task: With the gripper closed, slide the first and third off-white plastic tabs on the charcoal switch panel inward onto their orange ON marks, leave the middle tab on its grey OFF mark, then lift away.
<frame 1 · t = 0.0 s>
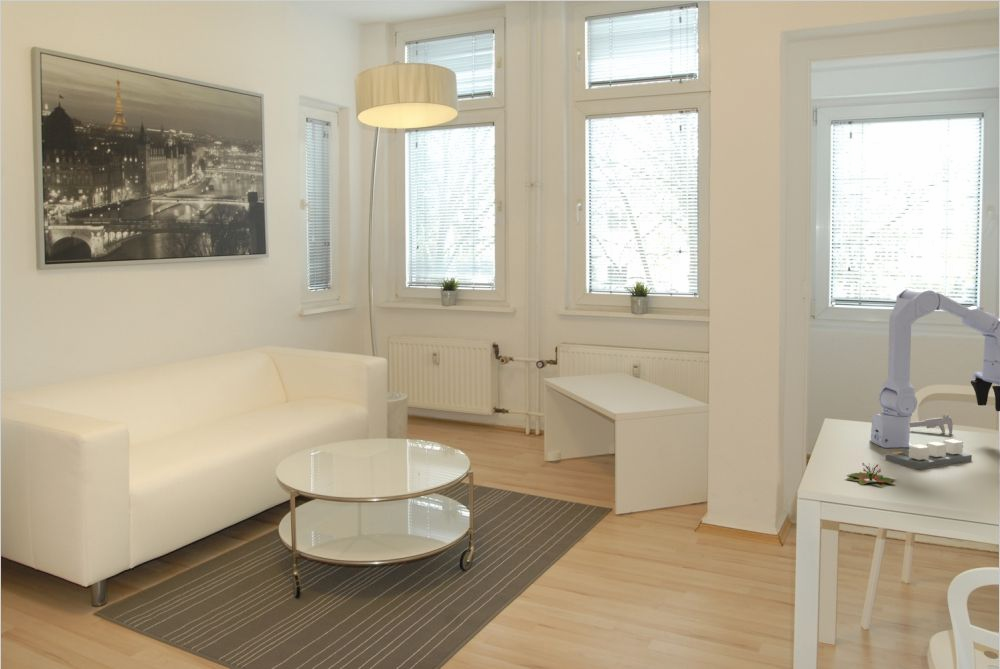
hand: (990, 408, 236), 10 cm above the table, fingers open, 7 cm apart
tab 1: (919, 451, 214), point 3 cm above the table, slide at 0.0 cm
tab 2: (936, 449, 217), point 3 cm above the table, slide at 0.0 cm
switch panel: (928, 460, 219), on the table
caliper: (913, 432, 251), on the table
lily flower: (870, 483, 201), on the table
tab 3: (952, 446, 220), point 3 cm above the table, slide at 0.0 cm
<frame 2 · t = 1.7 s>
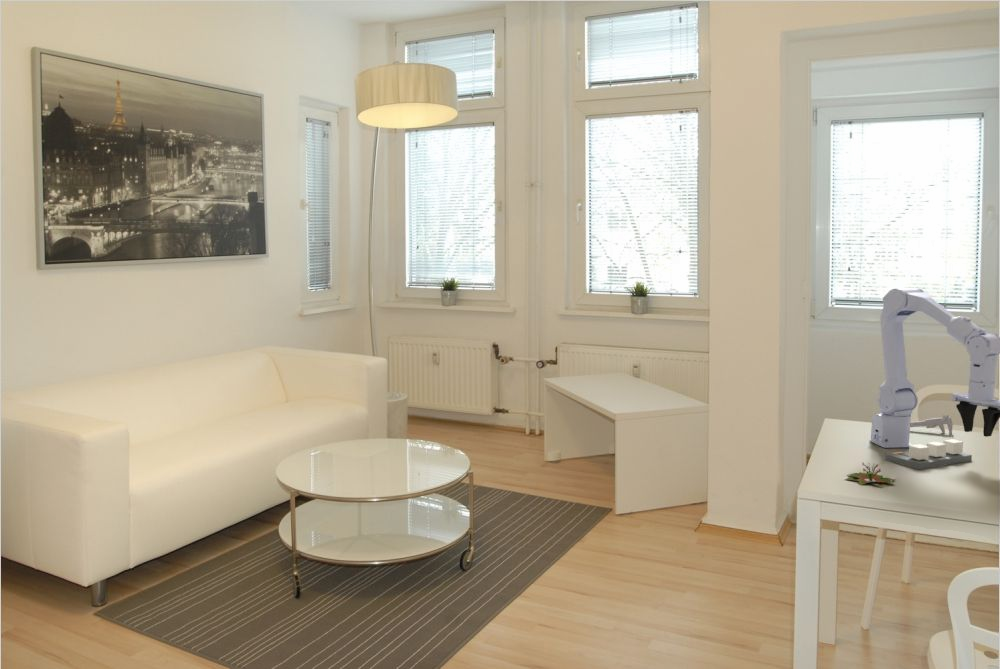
hand: (977, 433, 213), 8 cm above the table, fingers open, 5 cm apart
nothing on the table moved.
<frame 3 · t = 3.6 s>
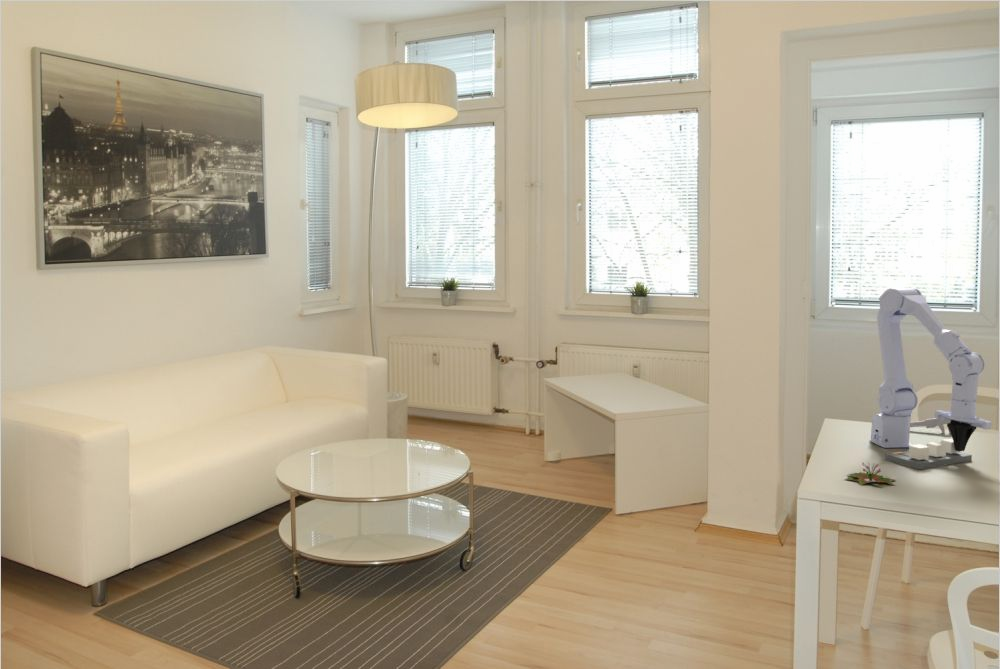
hand: (959, 450, 218), 3 cm above the table, fingers closed
tab 3: (950, 446, 220), point 3 cm above the table, slide at 0.7 cm, touching gripper
everything else where it was.
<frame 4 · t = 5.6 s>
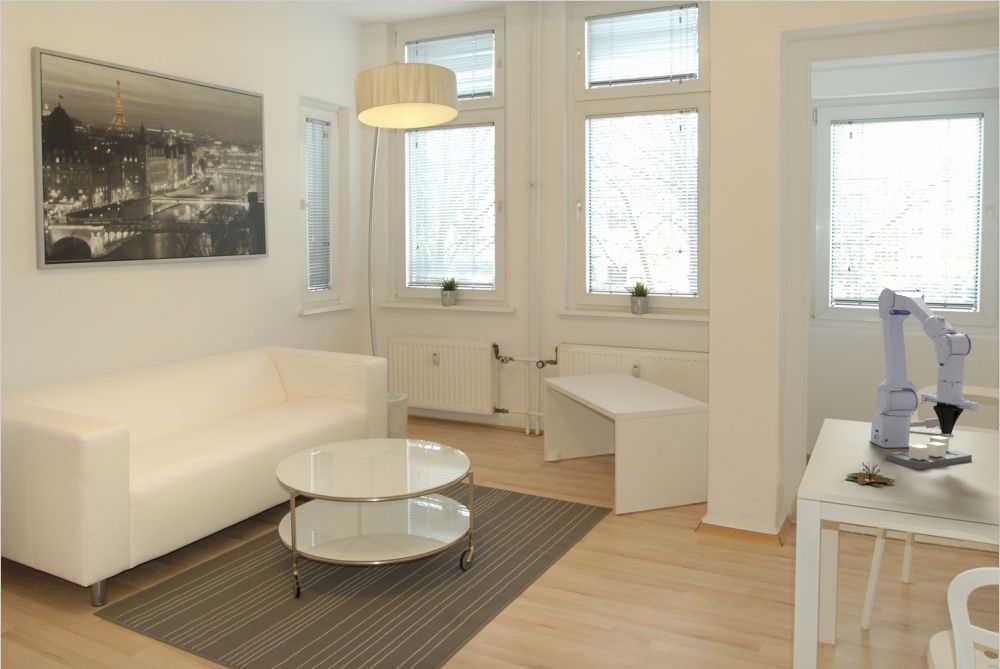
hand: (946, 433, 212), 9 cm above the table, fingers closed
tab 3: (939, 443, 223), point 3 cm above the table, slide at 4.1 cm
everything else where it was.
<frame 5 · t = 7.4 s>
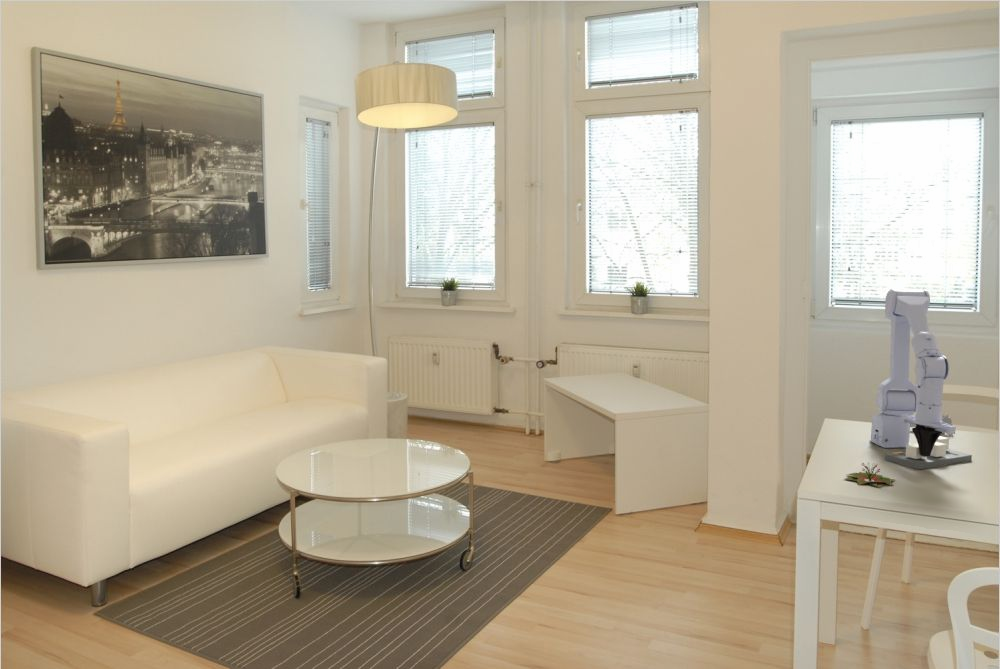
hand: (925, 455, 213), 3 cm above the table, fingers closed
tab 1: (915, 451, 215), point 3 cm above the table, slide at 1.0 cm, touching gripper
everything else where it was.
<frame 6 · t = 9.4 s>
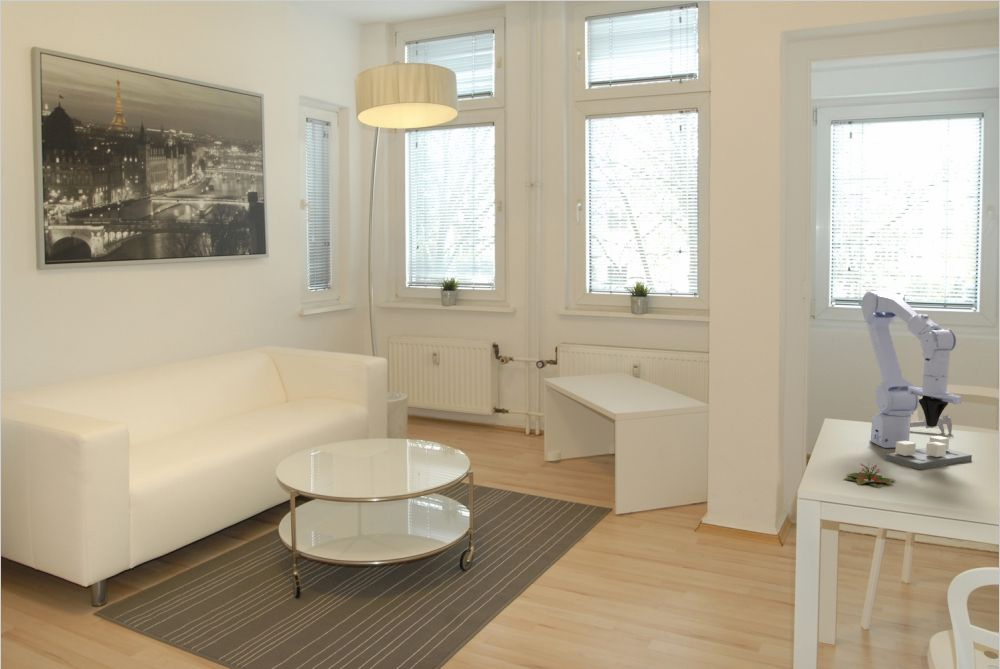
hand: (931, 426, 220), 9 cm above the table, fingers closed
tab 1: (905, 448, 218), point 3 cm above the table, slide at 4.1 cm
everything else where it was.
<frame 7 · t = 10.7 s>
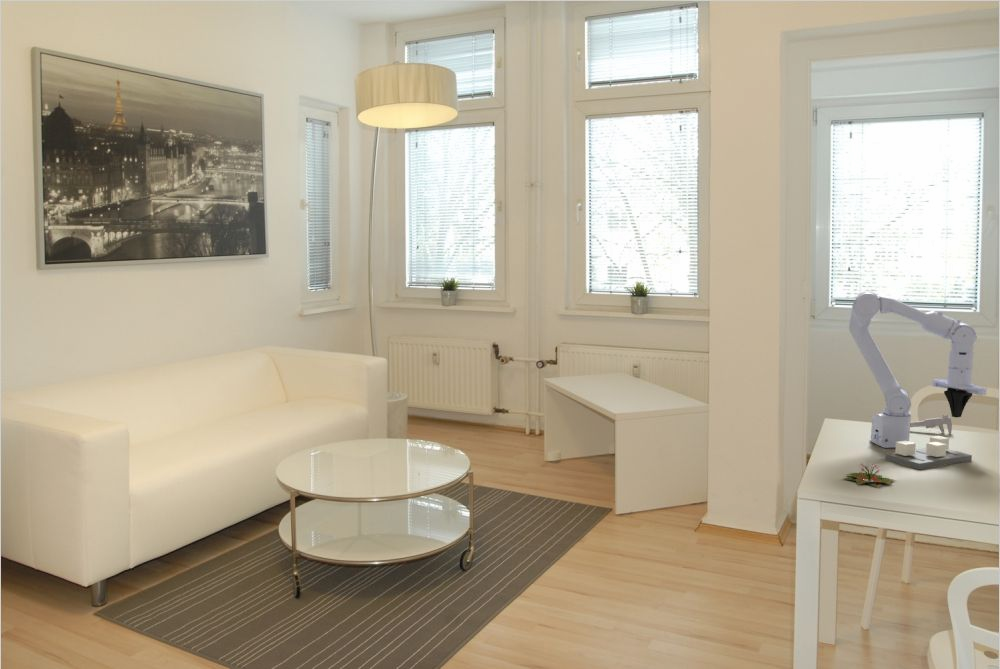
hand: (956, 416, 228), 9 cm above the table, fingers closed
nothing on the table moved.
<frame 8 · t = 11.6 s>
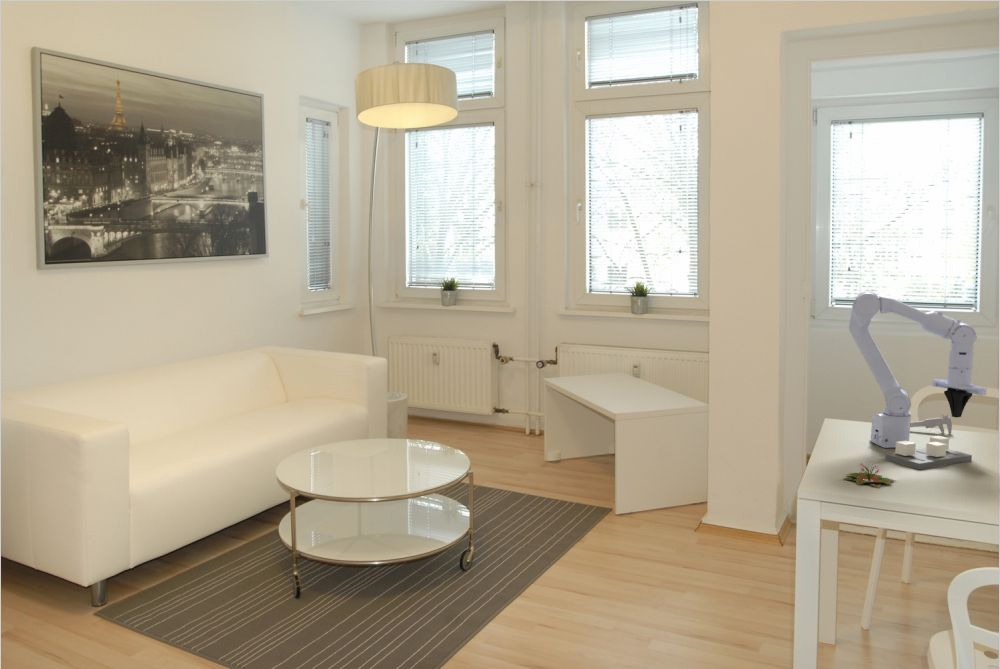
hand: (956, 416, 228), 9 cm above the table, fingers closed
nothing on the table moved.
at the end: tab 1 slide at 4.1 cm; tab 3 slide at 4.1 cm; tab 2 slide at 0.0 cm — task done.
